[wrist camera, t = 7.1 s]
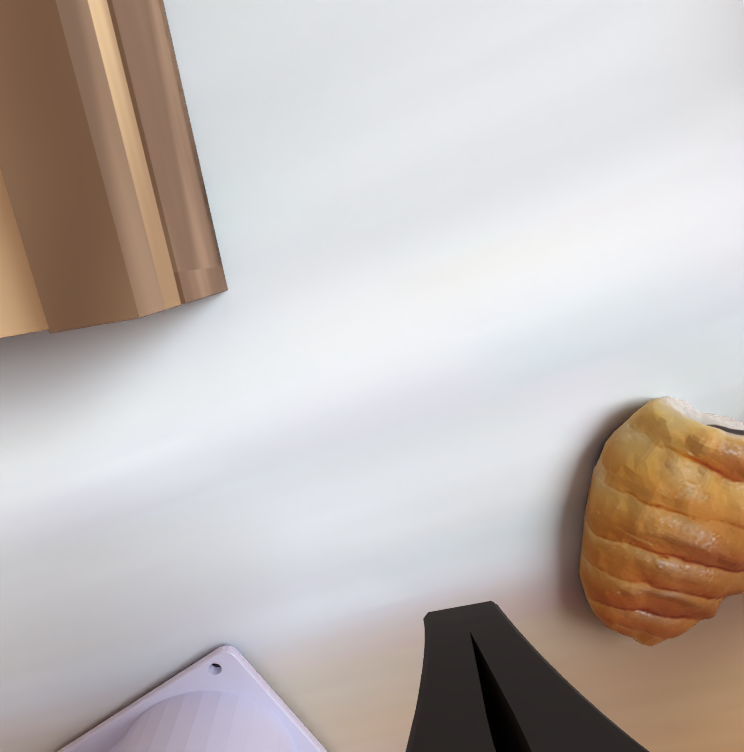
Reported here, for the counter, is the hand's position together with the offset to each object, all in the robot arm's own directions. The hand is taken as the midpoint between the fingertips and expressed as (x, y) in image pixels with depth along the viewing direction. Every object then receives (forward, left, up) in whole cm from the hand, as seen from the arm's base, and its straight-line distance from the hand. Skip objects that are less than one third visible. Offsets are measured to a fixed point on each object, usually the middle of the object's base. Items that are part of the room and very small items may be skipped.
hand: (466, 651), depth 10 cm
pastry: (+7, -8, -11) cm, 15 cm away
